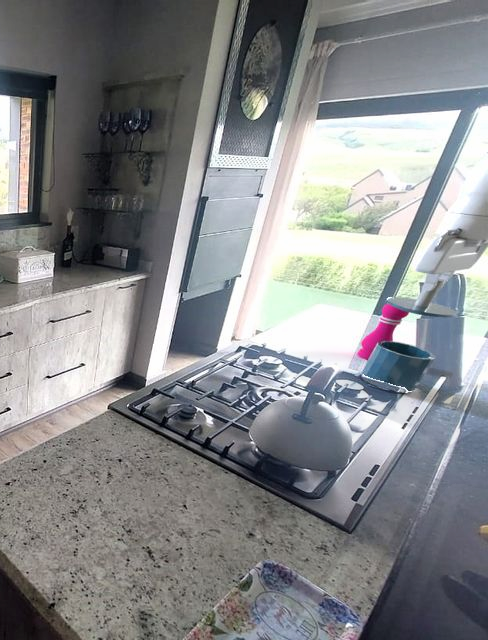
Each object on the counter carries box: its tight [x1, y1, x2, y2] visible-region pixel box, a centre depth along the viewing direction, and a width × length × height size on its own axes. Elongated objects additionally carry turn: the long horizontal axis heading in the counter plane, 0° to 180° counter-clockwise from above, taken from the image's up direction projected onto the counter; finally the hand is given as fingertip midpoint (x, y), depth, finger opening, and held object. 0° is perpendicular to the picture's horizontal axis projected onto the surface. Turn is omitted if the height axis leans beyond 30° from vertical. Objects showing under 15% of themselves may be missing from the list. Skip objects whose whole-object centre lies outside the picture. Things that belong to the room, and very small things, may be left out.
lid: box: [385, 279, 458, 318], centre depth 96 cm, size 13×13×8 cm
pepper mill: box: [357, 296, 410, 361], centre depth 124 cm, size 7×7×20 cm
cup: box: [360, 340, 436, 392], centre depth 112 cm, size 12×12×10 cm
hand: (430, 289), depth 95 cm, fingers closed on lid, 2 cm apart
